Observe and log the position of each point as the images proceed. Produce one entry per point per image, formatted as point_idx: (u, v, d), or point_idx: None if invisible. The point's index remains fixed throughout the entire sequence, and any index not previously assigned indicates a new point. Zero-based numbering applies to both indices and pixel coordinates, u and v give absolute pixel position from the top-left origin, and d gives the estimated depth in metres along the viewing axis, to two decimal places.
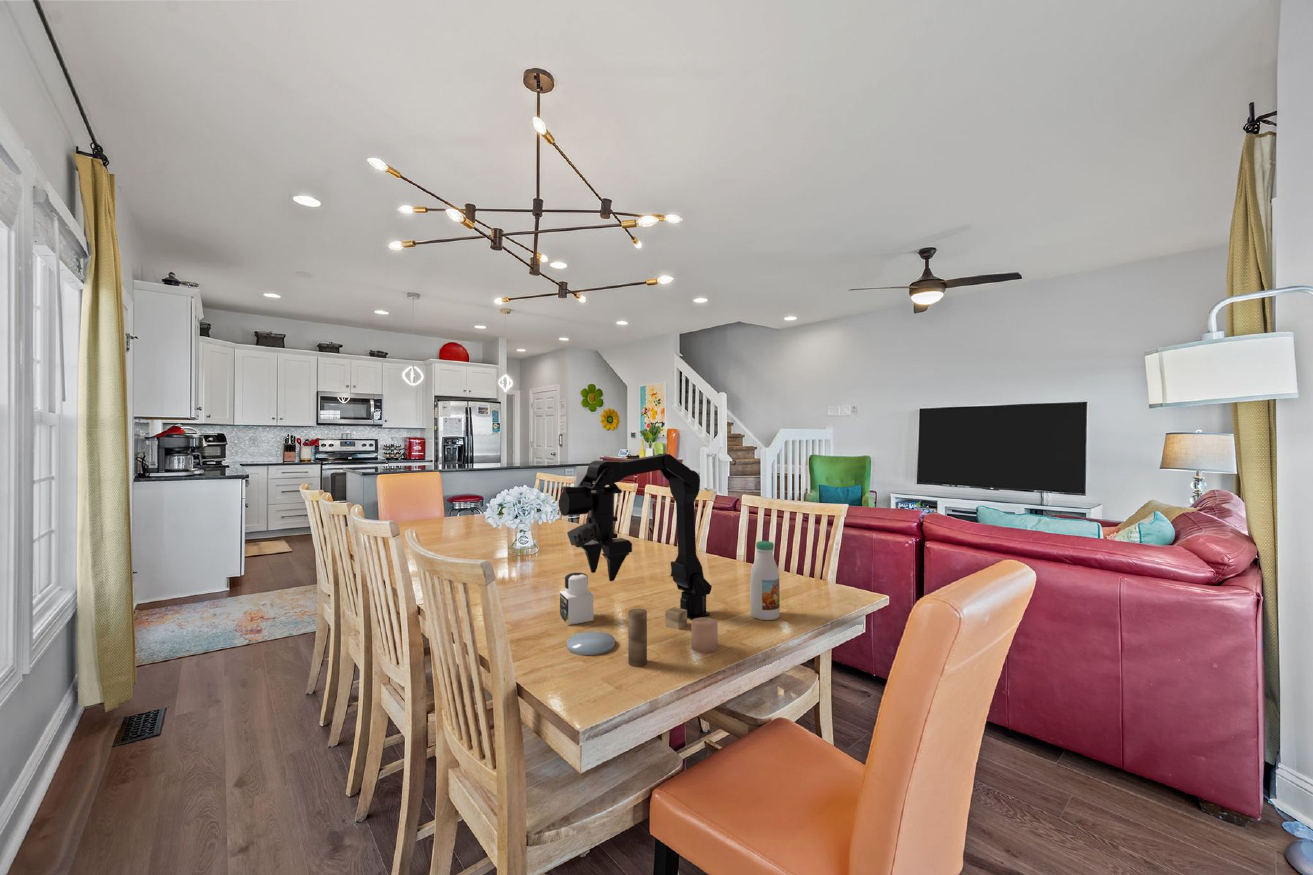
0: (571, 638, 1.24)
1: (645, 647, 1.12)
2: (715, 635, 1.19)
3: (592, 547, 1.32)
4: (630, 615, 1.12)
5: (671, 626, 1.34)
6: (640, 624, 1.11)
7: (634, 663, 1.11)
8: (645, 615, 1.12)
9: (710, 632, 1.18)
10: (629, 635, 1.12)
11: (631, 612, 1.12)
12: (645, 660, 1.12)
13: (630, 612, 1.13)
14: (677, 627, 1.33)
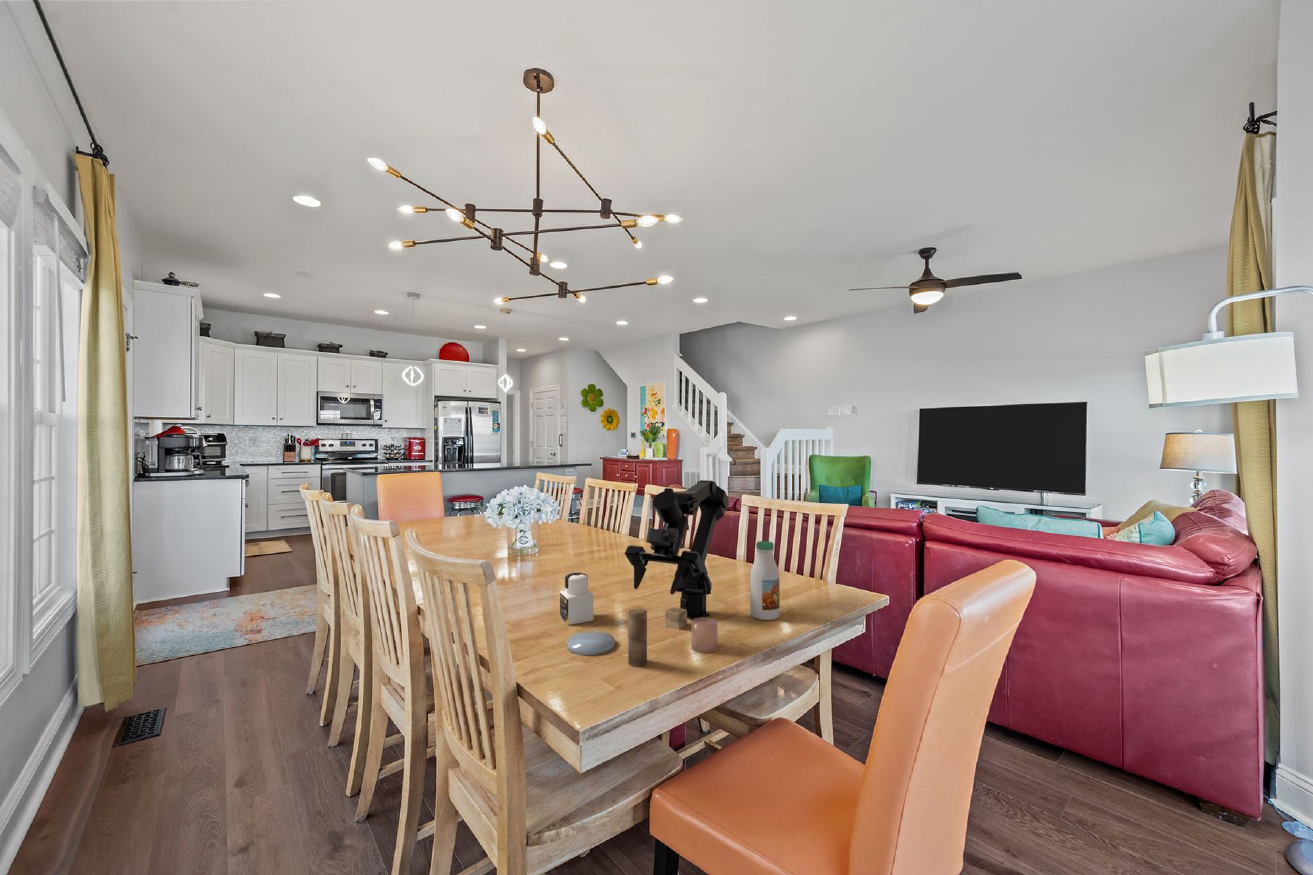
0: (571, 638, 1.24)
1: (645, 647, 1.12)
2: (715, 635, 1.19)
3: (642, 565, 1.26)
4: (630, 615, 1.12)
5: (671, 626, 1.34)
6: (640, 624, 1.11)
7: (634, 663, 1.11)
8: (645, 615, 1.12)
9: (710, 632, 1.18)
10: (629, 635, 1.12)
11: (631, 612, 1.12)
12: (645, 660, 1.12)
13: (630, 612, 1.13)
14: (677, 627, 1.33)
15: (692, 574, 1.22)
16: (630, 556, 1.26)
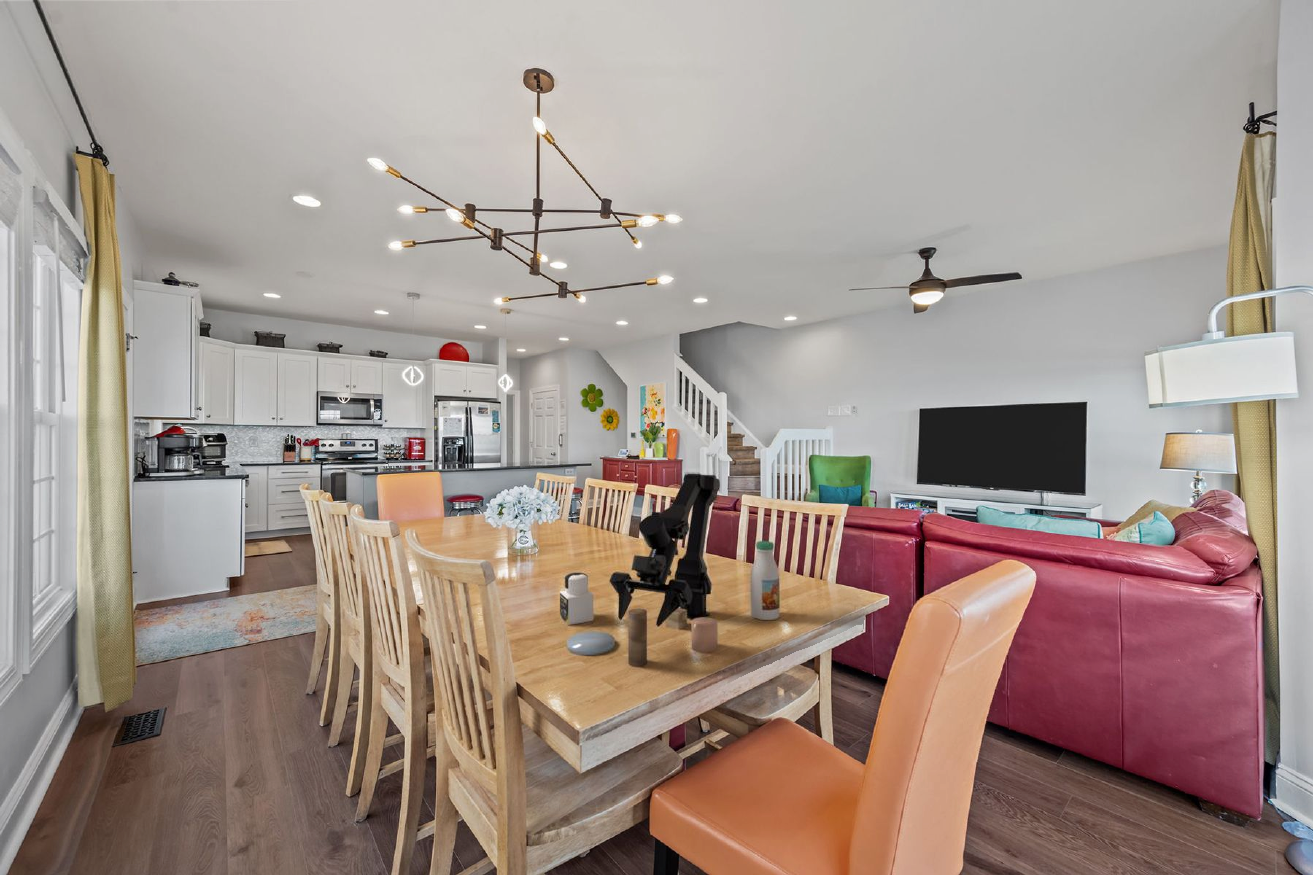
0: (571, 638, 1.24)
1: (645, 647, 1.12)
2: (715, 635, 1.19)
3: (627, 593, 1.20)
4: (630, 615, 1.12)
5: (671, 626, 1.34)
6: (640, 624, 1.11)
7: (634, 663, 1.11)
8: (645, 615, 1.12)
9: (710, 632, 1.18)
10: (629, 635, 1.12)
11: (631, 612, 1.12)
12: (645, 660, 1.12)
13: (630, 612, 1.13)
14: (677, 627, 1.33)
15: (680, 604, 1.16)
16: (615, 584, 1.19)
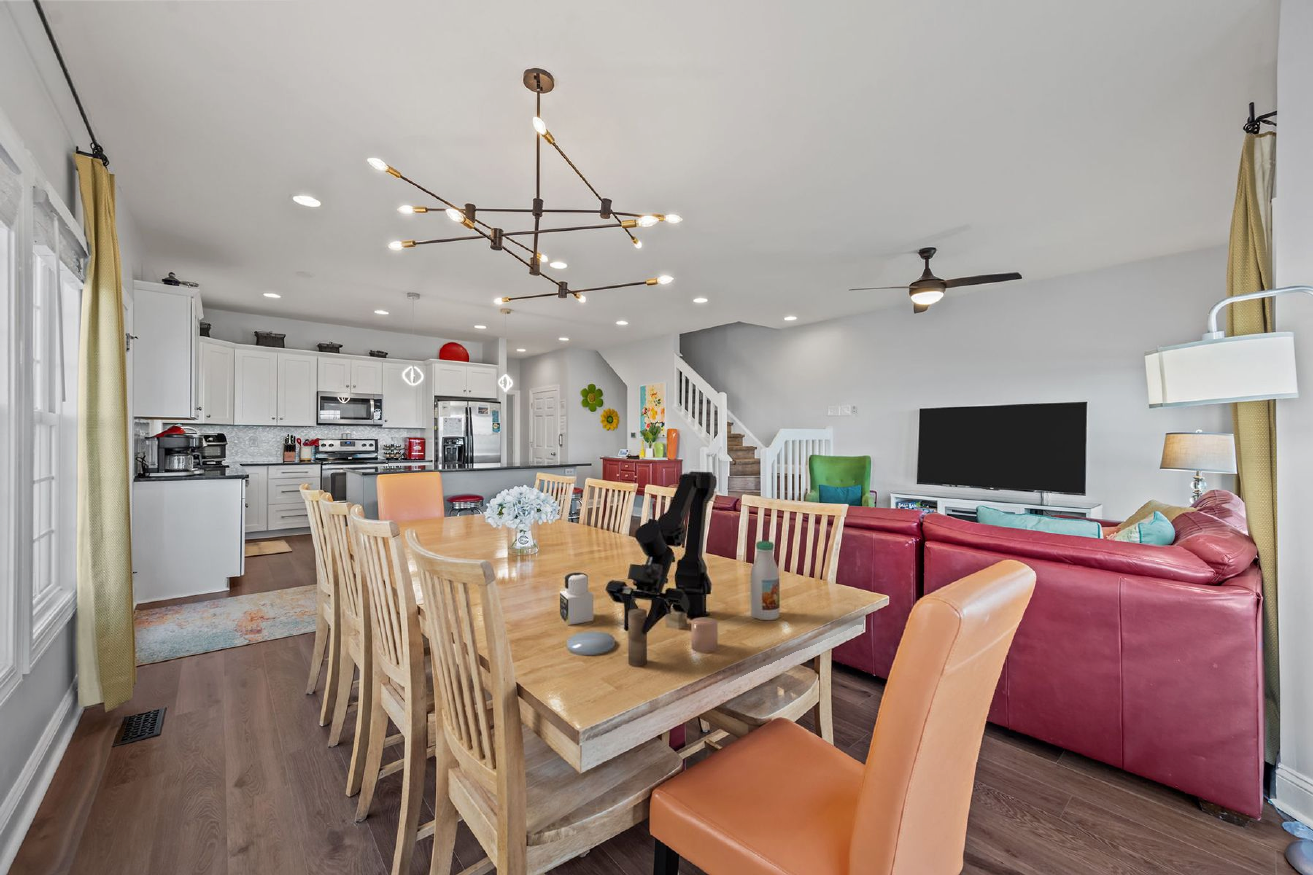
0: (571, 638, 1.24)
1: (645, 647, 1.12)
2: (715, 635, 1.19)
3: (633, 603, 1.17)
4: (630, 615, 1.12)
5: (671, 626, 1.34)
6: (640, 624, 1.11)
7: (634, 663, 1.11)
8: (645, 615, 1.12)
9: (710, 632, 1.18)
10: (629, 635, 1.12)
11: (631, 612, 1.12)
12: (645, 660, 1.12)
13: (630, 612, 1.13)
14: (677, 627, 1.33)
15: (667, 611, 1.15)
16: (620, 594, 1.16)
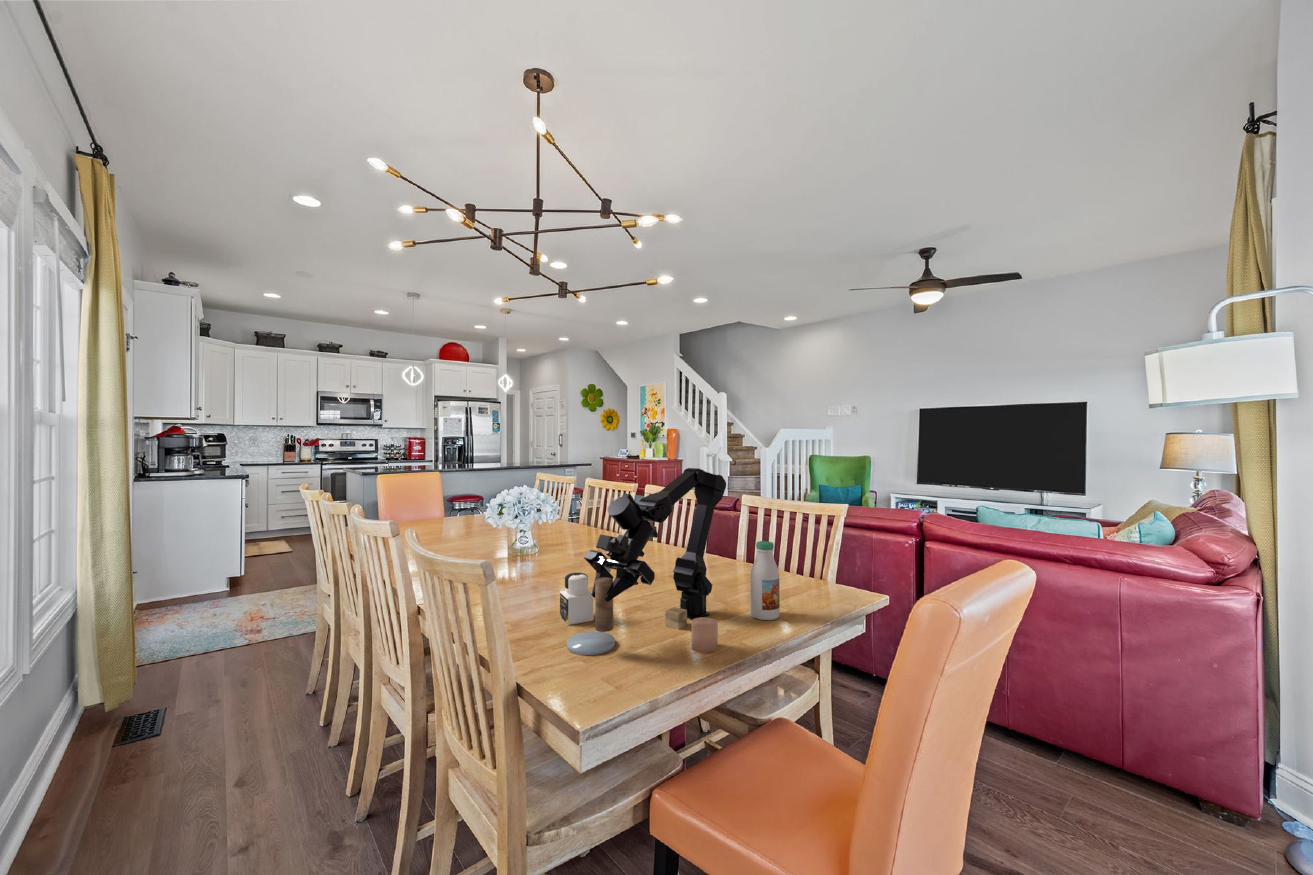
0: (571, 638, 1.24)
1: (610, 614, 1.17)
2: (715, 635, 1.19)
3: (606, 573, 1.23)
4: (595, 582, 1.18)
5: (671, 626, 1.34)
6: (603, 591, 1.17)
7: (598, 628, 1.17)
8: (609, 583, 1.17)
9: (710, 632, 1.18)
10: (595, 601, 1.18)
11: (597, 580, 1.18)
12: (609, 626, 1.17)
13: (597, 579, 1.18)
14: (677, 627, 1.33)
15: (633, 582, 1.19)
16: (594, 563, 1.23)
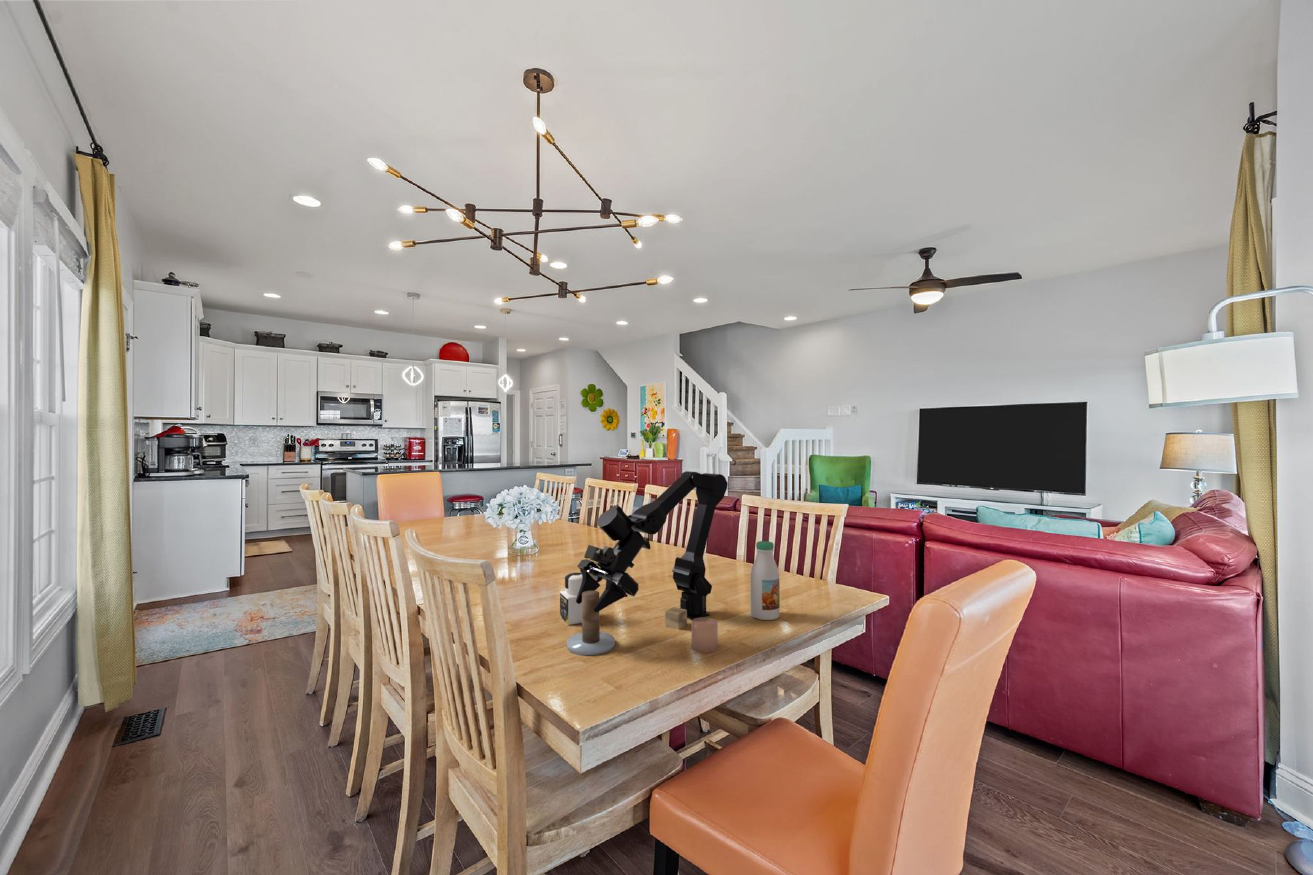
0: (571, 638, 1.24)
1: (595, 627, 1.21)
2: (715, 635, 1.19)
3: (592, 580, 1.28)
4: (582, 595, 1.22)
5: (671, 626, 1.34)
6: (588, 605, 1.20)
7: (584, 639, 1.21)
8: (595, 597, 1.21)
9: (710, 632, 1.18)
10: (582, 613, 1.22)
11: (583, 593, 1.22)
12: (595, 639, 1.21)
13: (584, 592, 1.23)
14: (677, 627, 1.33)
15: (623, 594, 1.20)
16: (581, 570, 1.28)
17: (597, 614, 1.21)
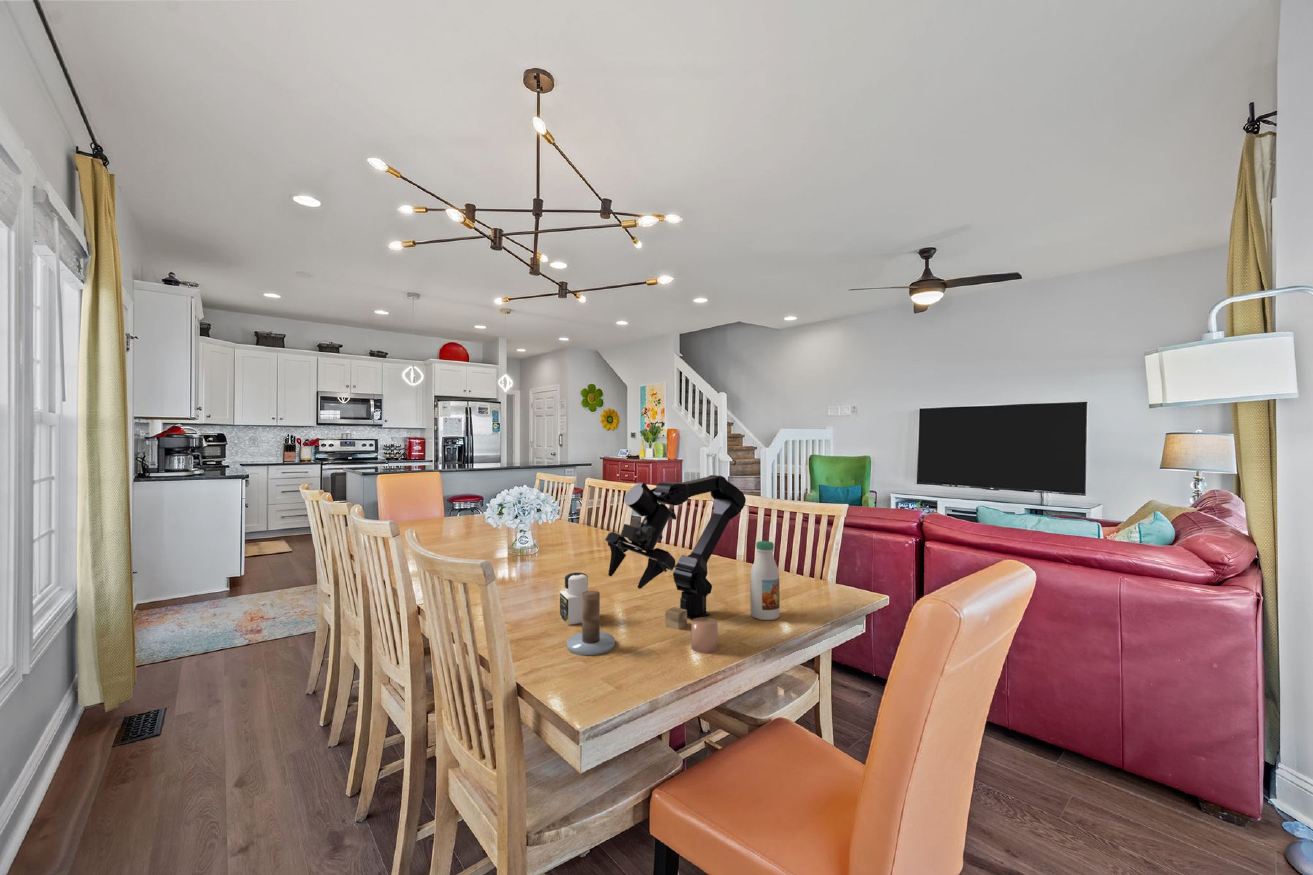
0: (571, 638, 1.24)
1: (595, 627, 1.21)
2: (715, 635, 1.19)
3: (620, 553, 1.33)
4: (582, 595, 1.22)
5: (671, 626, 1.34)
6: (589, 605, 1.20)
7: (584, 639, 1.21)
8: (595, 597, 1.21)
9: (710, 632, 1.18)
10: None
11: (584, 593, 1.22)
12: (595, 639, 1.21)
13: (584, 592, 1.23)
14: (677, 627, 1.33)
15: (663, 570, 1.27)
16: (609, 544, 1.32)
17: (597, 614, 1.21)
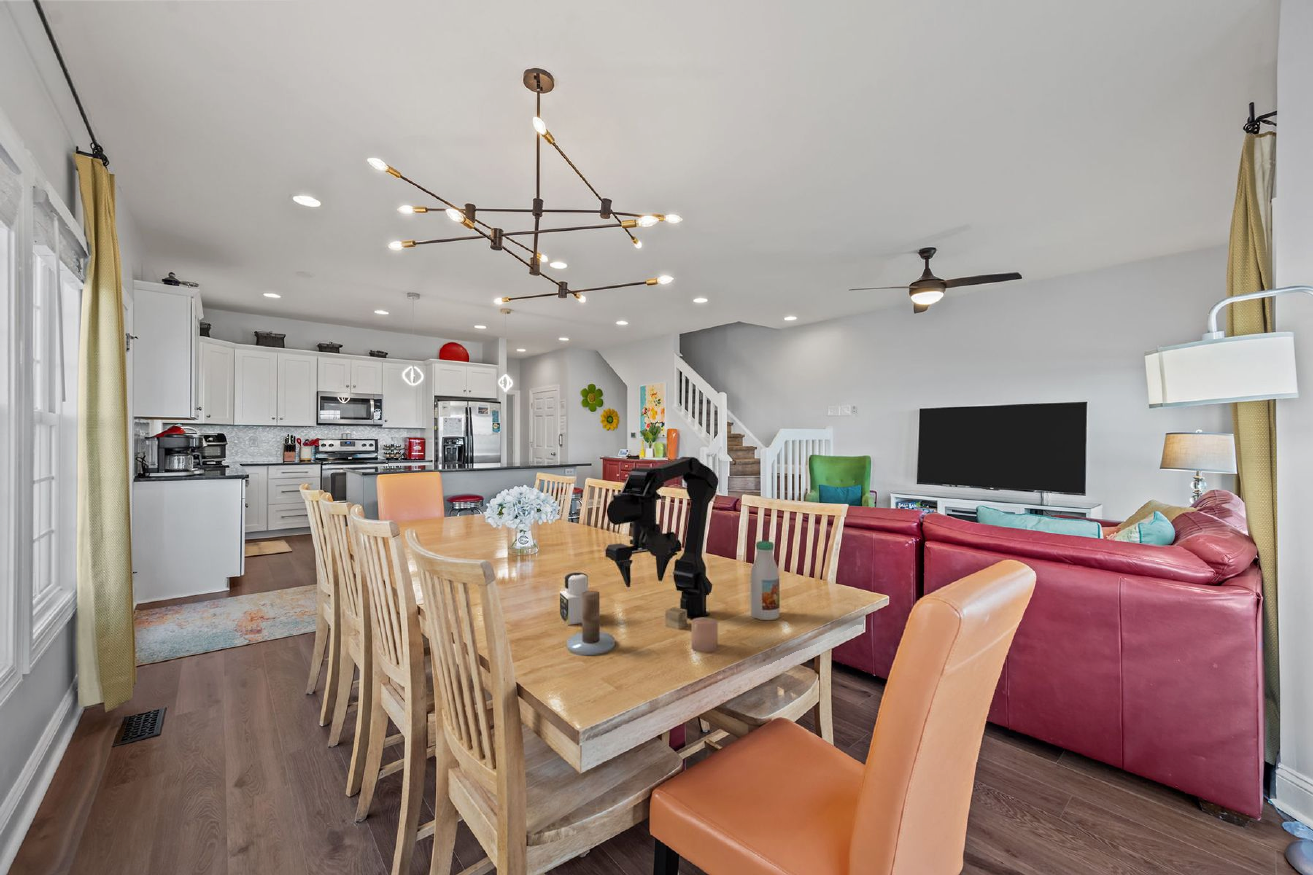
0: (571, 638, 1.24)
1: (595, 627, 1.21)
2: (715, 635, 1.19)
3: None
4: (582, 595, 1.22)
5: (671, 626, 1.34)
6: (589, 604, 1.20)
7: (584, 639, 1.21)
8: (595, 597, 1.21)
9: (710, 632, 1.18)
10: (582, 613, 1.22)
11: (584, 593, 1.22)
12: (595, 639, 1.21)
13: (584, 592, 1.23)
14: (677, 627, 1.33)
15: None
16: (624, 562, 1.21)
17: (597, 614, 1.21)
